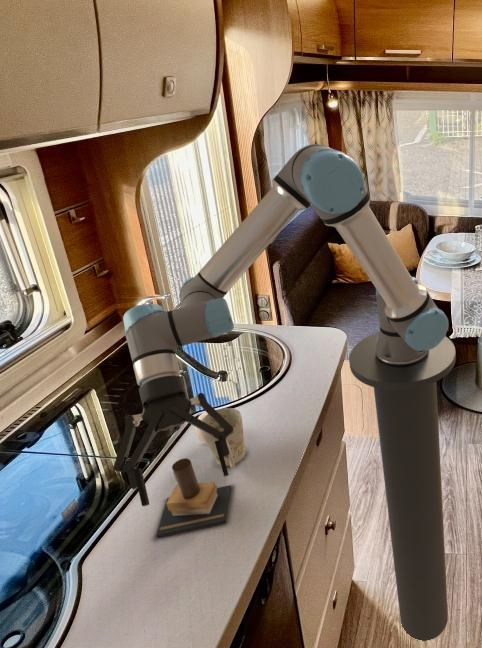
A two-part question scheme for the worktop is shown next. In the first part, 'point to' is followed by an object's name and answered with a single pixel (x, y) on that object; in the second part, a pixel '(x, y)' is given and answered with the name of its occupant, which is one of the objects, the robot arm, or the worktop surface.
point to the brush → (190, 492)
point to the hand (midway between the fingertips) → (187, 489)
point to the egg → (197, 430)
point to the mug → (233, 440)
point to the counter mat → (196, 516)
